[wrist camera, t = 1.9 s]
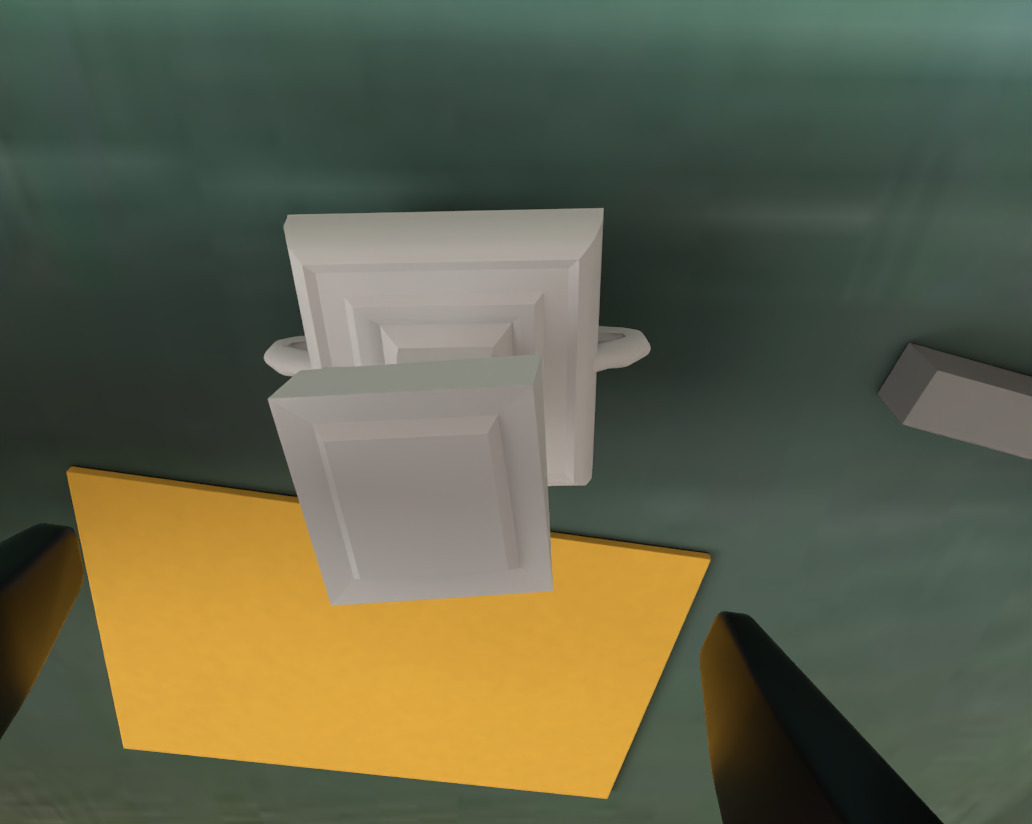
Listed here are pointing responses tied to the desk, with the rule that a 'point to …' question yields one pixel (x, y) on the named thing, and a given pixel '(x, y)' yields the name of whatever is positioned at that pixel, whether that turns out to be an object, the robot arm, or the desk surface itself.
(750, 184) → the desk surface
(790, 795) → the robot arm
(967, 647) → the desk surface
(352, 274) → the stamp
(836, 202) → the desk surface
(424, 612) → the cloth
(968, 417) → the submachine gun
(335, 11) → the desk surface
